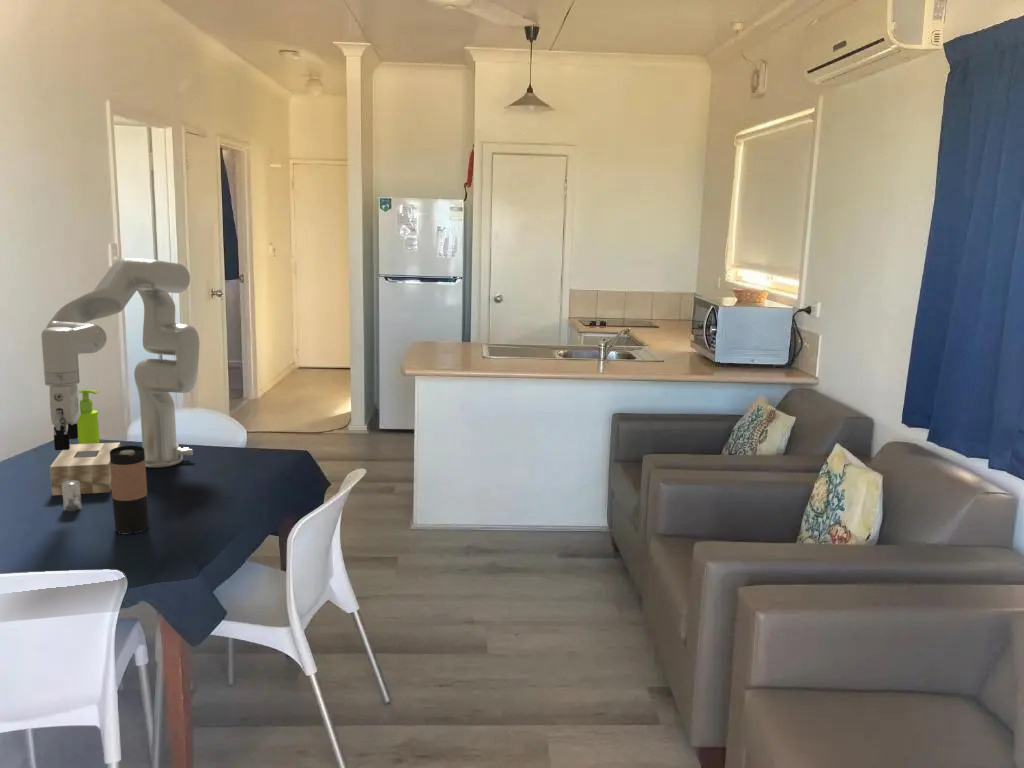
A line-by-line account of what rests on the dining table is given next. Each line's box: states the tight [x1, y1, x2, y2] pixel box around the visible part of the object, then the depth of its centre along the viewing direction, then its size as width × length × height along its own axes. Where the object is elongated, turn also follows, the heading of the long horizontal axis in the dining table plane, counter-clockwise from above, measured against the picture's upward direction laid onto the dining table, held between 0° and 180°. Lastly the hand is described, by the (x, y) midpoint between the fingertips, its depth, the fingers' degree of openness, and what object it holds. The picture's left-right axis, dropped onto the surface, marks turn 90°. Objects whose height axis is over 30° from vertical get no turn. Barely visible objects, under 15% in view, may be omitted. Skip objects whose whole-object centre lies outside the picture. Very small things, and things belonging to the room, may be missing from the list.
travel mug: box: [110, 445, 149, 534], centre depth 195 cm, size 8×8×20 cm
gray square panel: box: [75, 451, 98, 458], centre depth 225 cm, size 5×5×1 cm
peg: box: [62, 480, 82, 512], centre depth 207 cm, size 4×4×7 cm
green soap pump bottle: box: [77, 388, 101, 444], centre depth 249 cm, size 6×7×20 cm
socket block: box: [49, 442, 121, 496], centre depth 226 cm, size 14×20×8 cm
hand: (66, 444), depth 203 cm, fingers open, 9 cm apart
